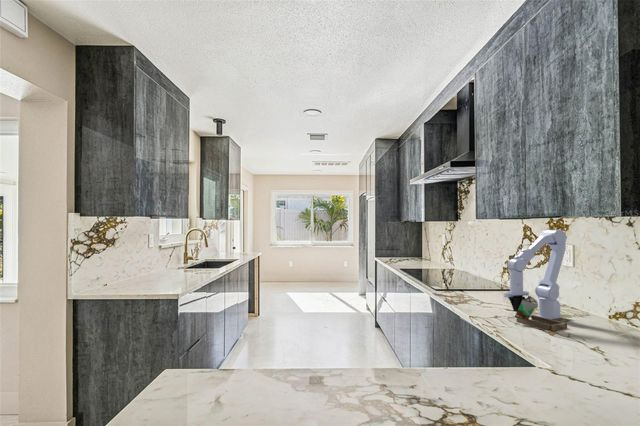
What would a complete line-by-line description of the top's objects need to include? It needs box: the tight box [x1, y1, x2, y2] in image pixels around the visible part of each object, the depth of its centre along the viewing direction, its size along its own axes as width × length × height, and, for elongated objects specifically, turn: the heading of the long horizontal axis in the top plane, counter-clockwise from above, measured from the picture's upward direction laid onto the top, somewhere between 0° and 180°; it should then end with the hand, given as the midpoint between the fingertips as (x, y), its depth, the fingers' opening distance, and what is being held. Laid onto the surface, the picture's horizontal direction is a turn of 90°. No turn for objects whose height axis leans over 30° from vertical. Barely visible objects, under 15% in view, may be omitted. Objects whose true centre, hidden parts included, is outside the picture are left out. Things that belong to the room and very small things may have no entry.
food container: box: [514, 295, 539, 320], centre depth 183 cm, size 12×6×10 cm, turn 139°
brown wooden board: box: [516, 314, 568, 331], centre depth 176 cm, size 11×17×2 cm, turn 23°
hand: (516, 311), depth 188 cm, fingers closed
